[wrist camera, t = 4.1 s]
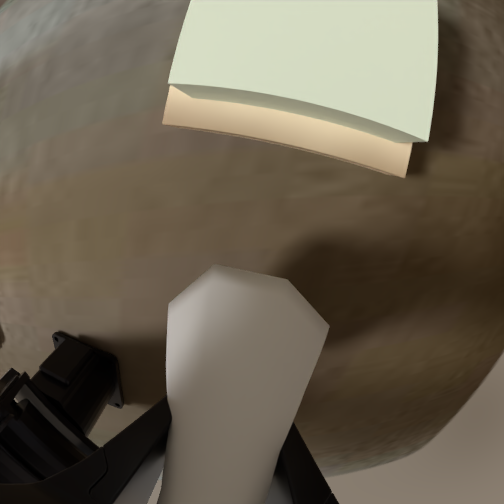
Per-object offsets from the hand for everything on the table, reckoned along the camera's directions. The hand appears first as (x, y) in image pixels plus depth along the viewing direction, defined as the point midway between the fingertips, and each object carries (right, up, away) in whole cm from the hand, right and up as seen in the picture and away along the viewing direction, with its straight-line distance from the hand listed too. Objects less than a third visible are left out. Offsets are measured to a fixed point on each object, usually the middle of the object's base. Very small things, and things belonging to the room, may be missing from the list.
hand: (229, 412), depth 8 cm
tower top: (+3, +15, +1) cm, 16 cm away
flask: (0, +1, +4) cm, 4 cm away
